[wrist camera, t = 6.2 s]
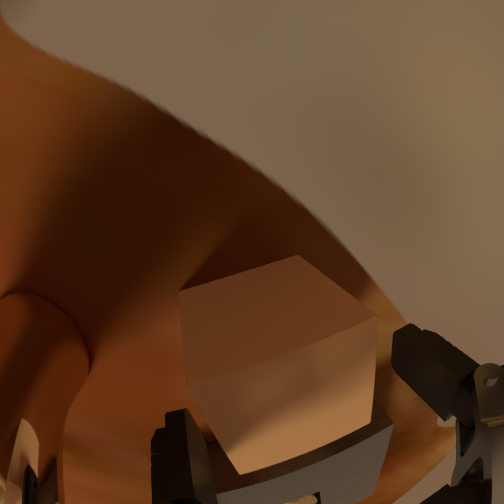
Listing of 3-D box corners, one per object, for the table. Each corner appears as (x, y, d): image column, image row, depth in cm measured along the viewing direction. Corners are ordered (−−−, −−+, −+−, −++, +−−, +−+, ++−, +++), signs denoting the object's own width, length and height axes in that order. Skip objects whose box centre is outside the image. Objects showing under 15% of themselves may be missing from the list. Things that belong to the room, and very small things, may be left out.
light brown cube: (178, 290, 12) (186, 385, 7) (297, 253, 13) (377, 315, 8) (214, 380, 14) (239, 475, 9) (311, 347, 15) (370, 422, 9)
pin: (262, 474, 17) (275, 509, 14) (299, 461, 18) (316, 494, 14) (269, 486, 18) (281, 518, 15) (302, 475, 19) (318, 505, 15)
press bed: (163, 452, 15) (167, 502, 11) (362, 386, 17) (394, 423, 14) (224, 513, 20) (232, 544, 16) (355, 467, 22) (372, 494, 18)
